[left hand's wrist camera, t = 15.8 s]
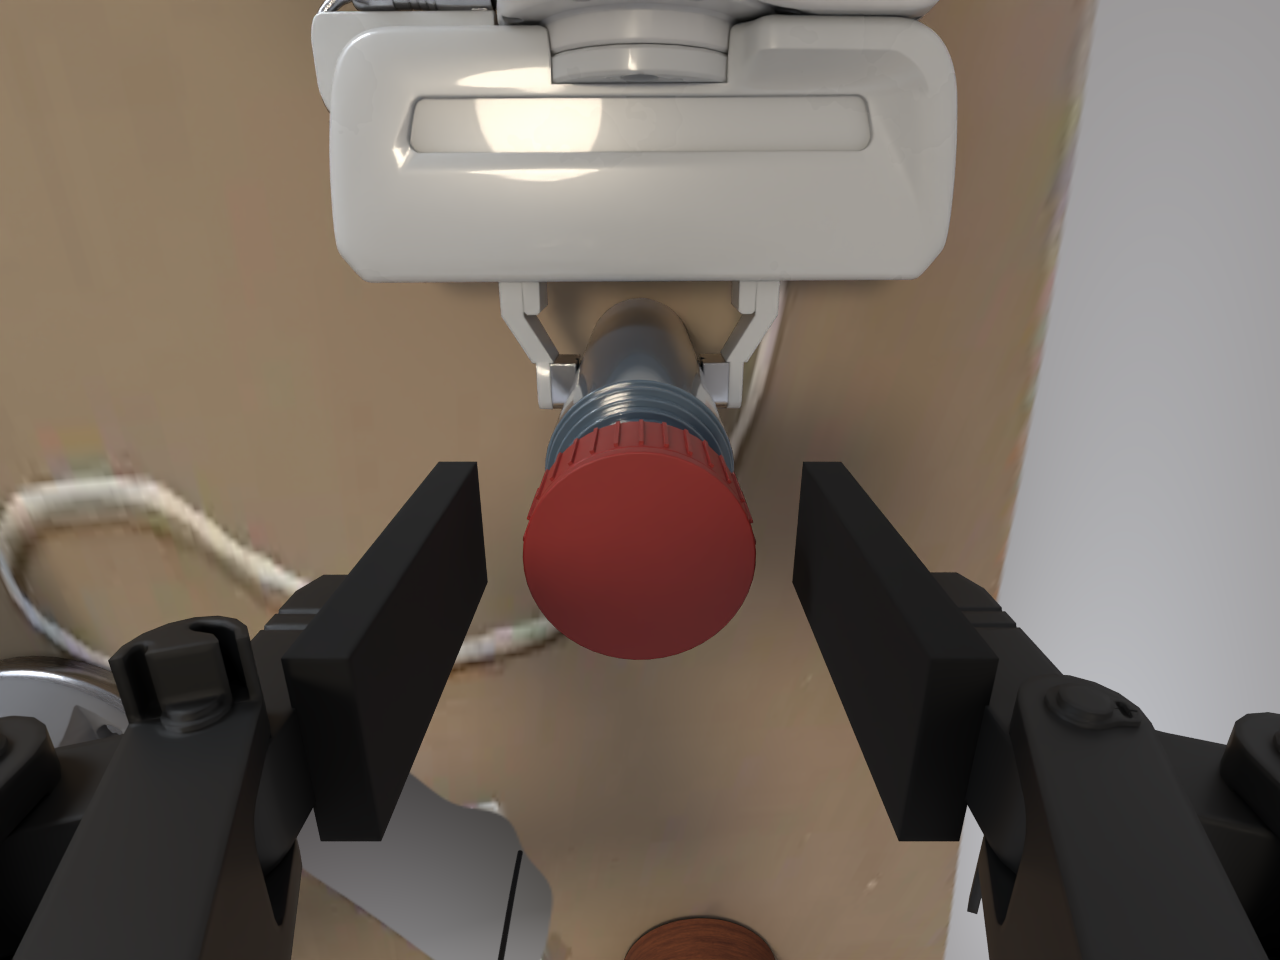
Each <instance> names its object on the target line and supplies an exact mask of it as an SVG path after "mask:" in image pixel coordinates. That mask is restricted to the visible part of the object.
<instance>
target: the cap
mask: <svg viewBox="0 0 1280 960" xmlns="http://www.w3.org/2000/svg"><path fill="white" fill-rule="evenodd" d="M527 519H528V520H529V523H528V525H527V528H526V531H525V534H524V537H523V541H524V544H523V564H524V572H525V576H526V581H527V584H528V587H529V589H530V592H531V594H532V597H533V599H534V600H535V602H536V604H537V606H538V607H539V609H540V610H541V612H542V613H543V614H544V616H545V617H546V618H547V619H548V620H549V622H550V623H551V624H552V625H553V626H554V627H555V628H556V629H557V630H559V631H560V632H561V633H563V634H564V635H565V636H566V637H568V638H569V639H571V640H572V641H574V642H576V643H577V644H579V645H581V646H583V647H585V648H587V649H590V650H592V651H594V652H597V653H600V654H603V655H607V656H611V657H616V658H622V659H633V660H643V659H656V658H663V657H668V656H672V655H676V654H679V653H682V652H684V651H687V650H690V649H692V648H694V647H696V646H698V645H700V644H702V643H704V642H705V641H707V640H708V639H710V638H711V637H713V636H714V635H715V634H716V633H718V632H719V631H720V630H721V629H722V628H723V627H725V626H726V625H727V623H728V622H729V621H730V620H731V619H732V618H733V617H734V616H735V614H736V613H737V611H738V610H739V608H740V607H741V605H742V604H743V602H744V600H745V598H746V596H747V594H748V592H749V589H750V586H751V583H752V580H753V576H754V571H755V563H756V548H755V545H756V540H755V537H754V534H753V531H752V527H751V524H750V523H753V520H752V517H751V514H750V512H749V509H748V506H747V503H746V501H745V498H744V495H743V492H742V491H741V489H740V486H739V483H738V481H737V478H736V475H735V473H734V472H732V473H731V472H730V470H729V469H728V467H727V465H726V463H725V460H724V457H723V456H722V455H720V456H719V455H718V454H717V453H716V452H715V451H714V450H713V449H712V448H710V447H709V445H708V442H707V441H706V440H704V441H701V440H700V439H699V438H697V437H695V436H693V435H692V434H690V433H689V432H688V430H687V429H684V430H681V429H678V428H676V427H673V426H670V425H667V423H666V422H662V424H661V423H655V422H645V421H643V419H639V421H637V422H624V423H620V421H617V422H616V424H613V425H610V426H606V427H603V428H600V429H598V427H597V428H594V431H593V432H591V433H589V434H587V435H585V436H584V437H582V438H580V439H578V438H576V439H575V440H574V442H573V444H572V445H571V446H570V447H568V448H567V449H566V450H565V451H564V452H563V453H561V452H560V453H559V454H558V455H557V458H556V461H555V463H554V464H553V465H552V467H551V468H550V470H548V469H547V470H546V471H545V474H544V476H543V479H542V482H541V484H540V487H539V488H538V489H537V492H536V495H535V497H534V500H533V503H532V505H531V508H530V511H529V513H528V516H527Z"/></svg>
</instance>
